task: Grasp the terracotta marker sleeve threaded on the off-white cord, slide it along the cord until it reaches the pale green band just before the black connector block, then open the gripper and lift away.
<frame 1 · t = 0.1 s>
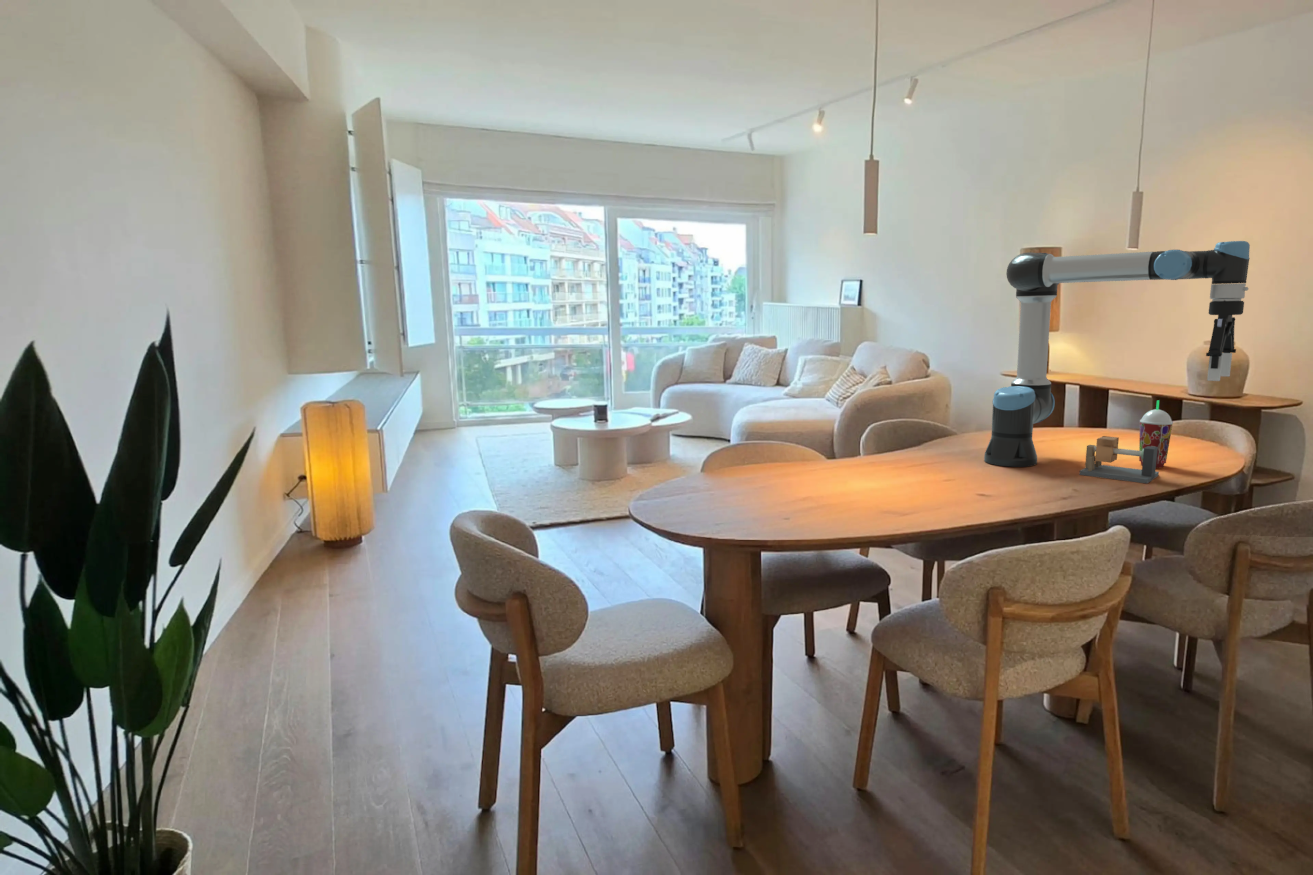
hand: (1218, 378, 206), 28 cm above the table, fingers open, 13 cm apart
smoothie: (1152, 466, 227), on the table
peg stand base: (1118, 475, 217), on the table
sleeve: (1106, 449, 218), point 7 cm above the table, slide at 0.0 cm
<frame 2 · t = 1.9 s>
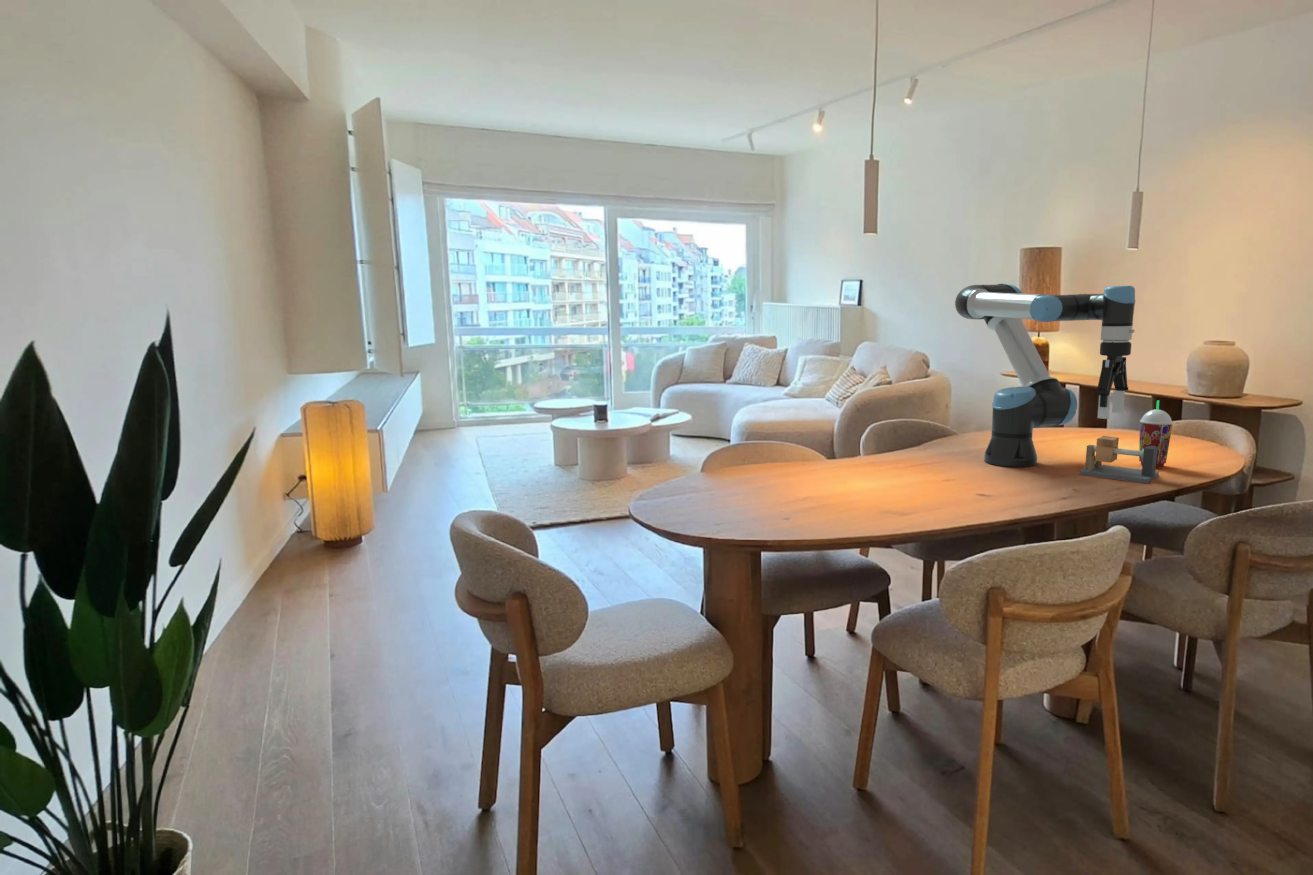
hand: (1110, 415, 216), 17 cm above the table, fingers open, 13 cm apart
nothing on the table moved.
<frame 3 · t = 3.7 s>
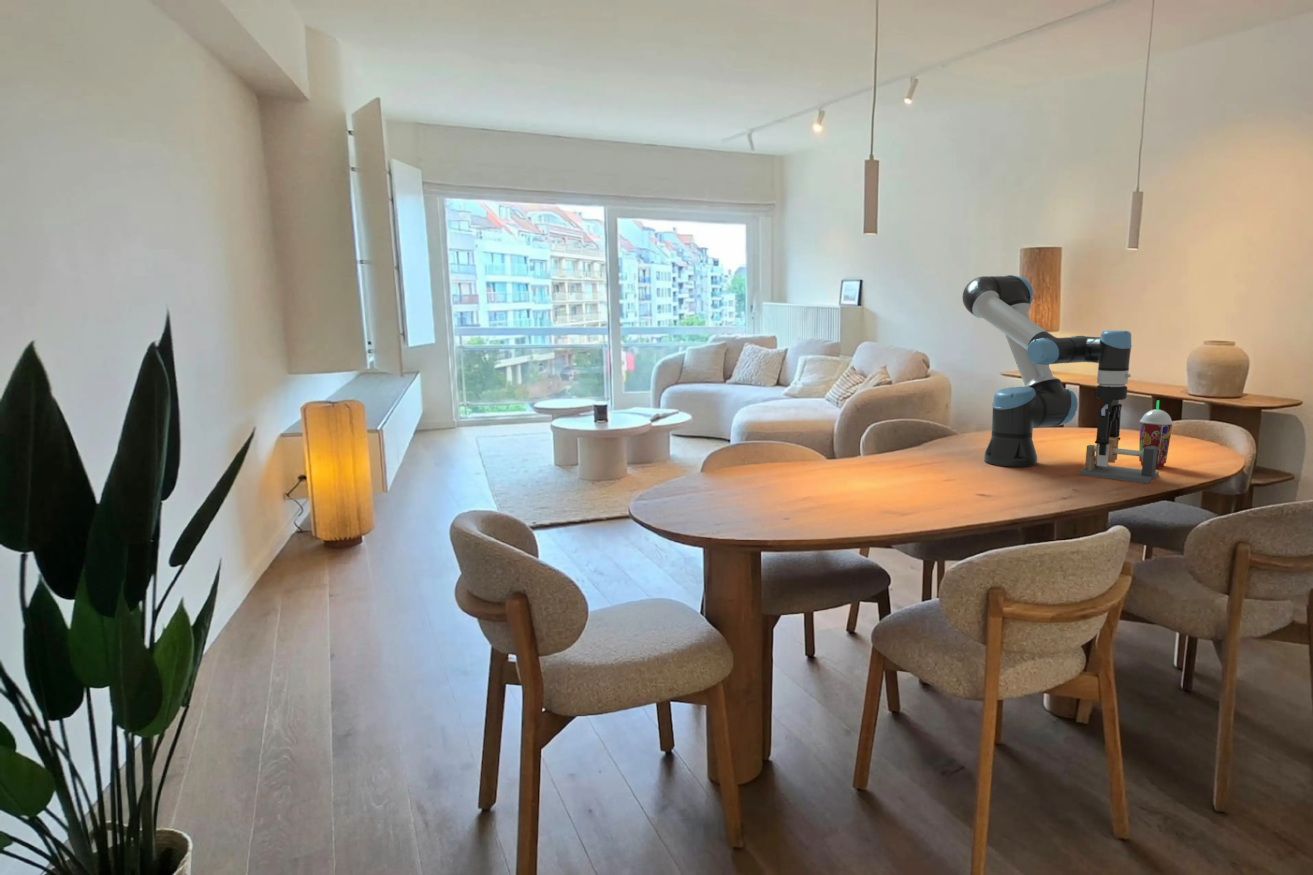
hand: (1105, 463, 219), 3 cm above the table, fingers closed on sleeve, 6 cm apart
sleeve: (1106, 449, 218), point 7 cm above the table, slide at 0.0 cm, touching gripper
everything else where it was.
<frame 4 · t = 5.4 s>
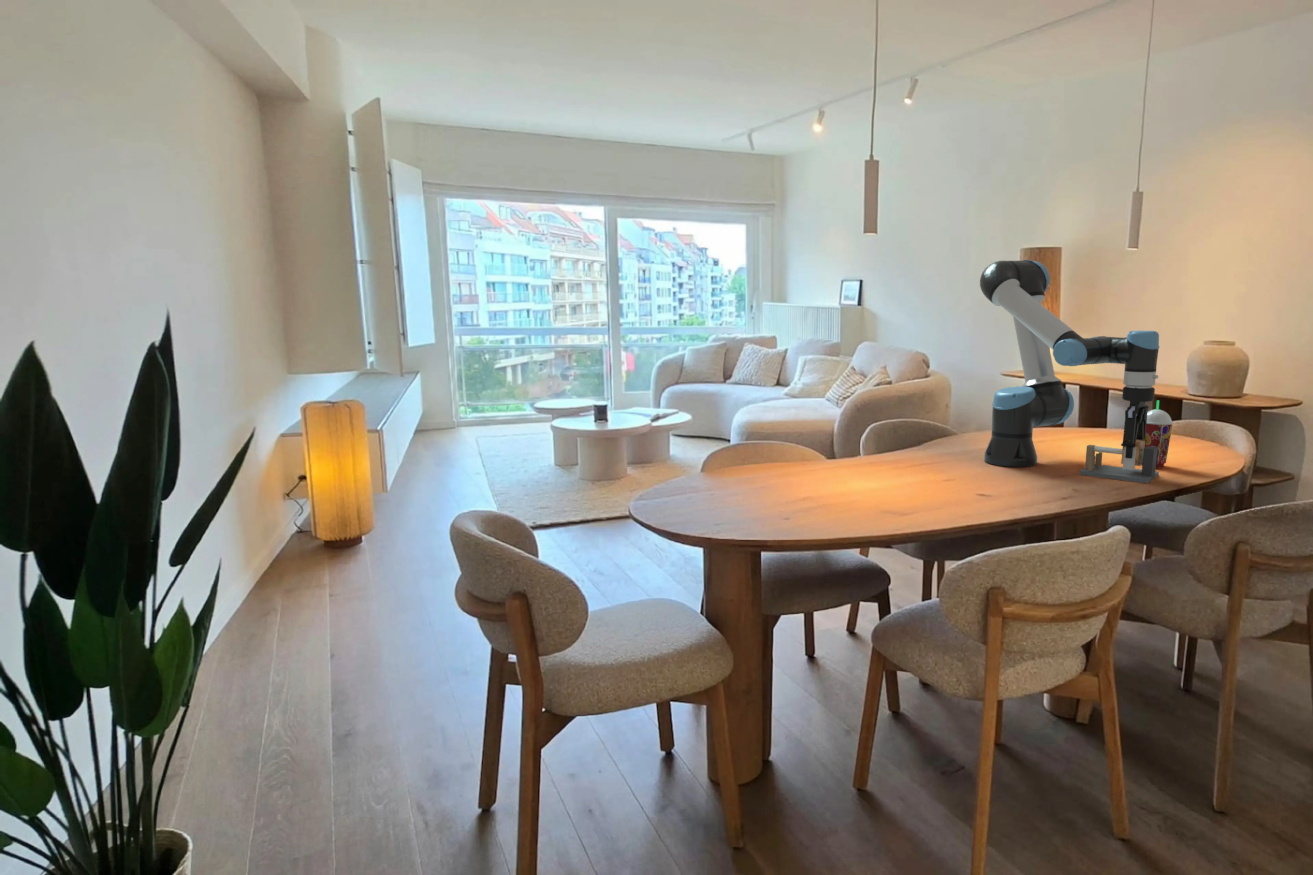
hand: (1131, 466, 214), 3 cm above the table, fingers closed on sleeve, 6 cm apart
sleeve: (1133, 451, 213), point 7 cm above the table, slide at 6.6 cm, touching gripper
everything else where it was.
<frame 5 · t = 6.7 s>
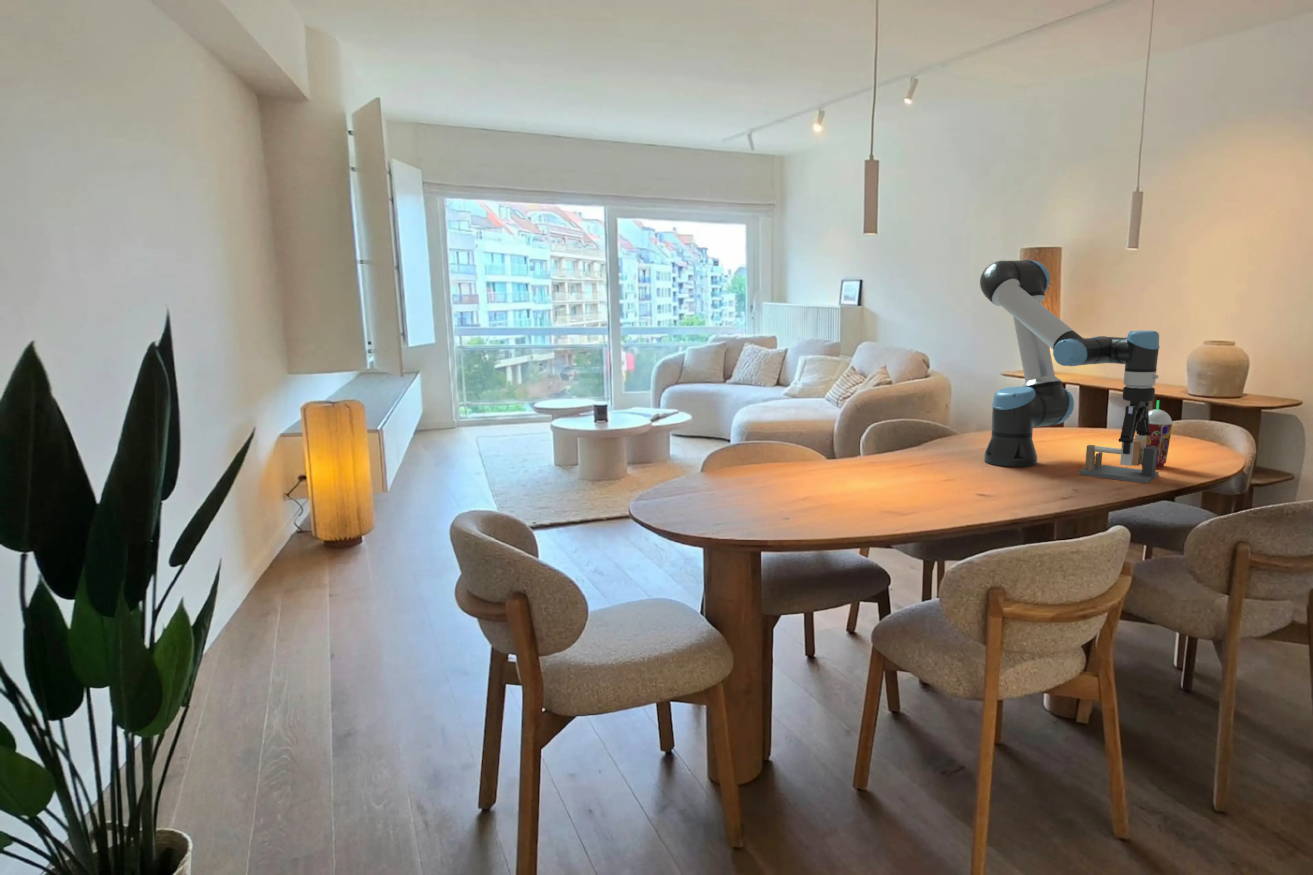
hand: (1132, 461, 214), 5 cm above the table, fingers open, 12 cm apart
sleeve: (1133, 452, 213), point 7 cm above the table, slide at 6.7 cm
everything else where it was.
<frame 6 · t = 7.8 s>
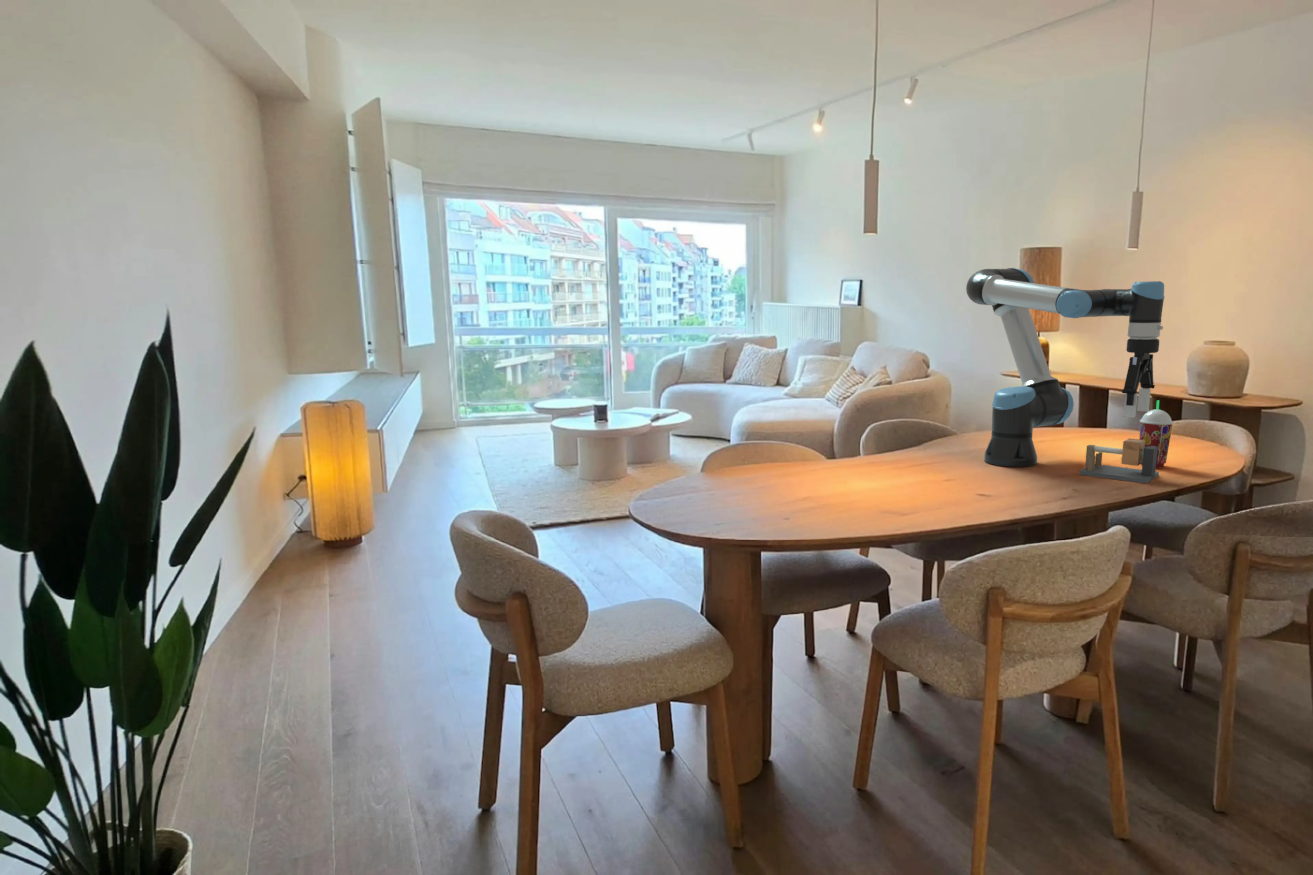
hand: (1136, 414, 211), 18 cm above the table, fingers open, 13 cm apart
nothing on the table moved.
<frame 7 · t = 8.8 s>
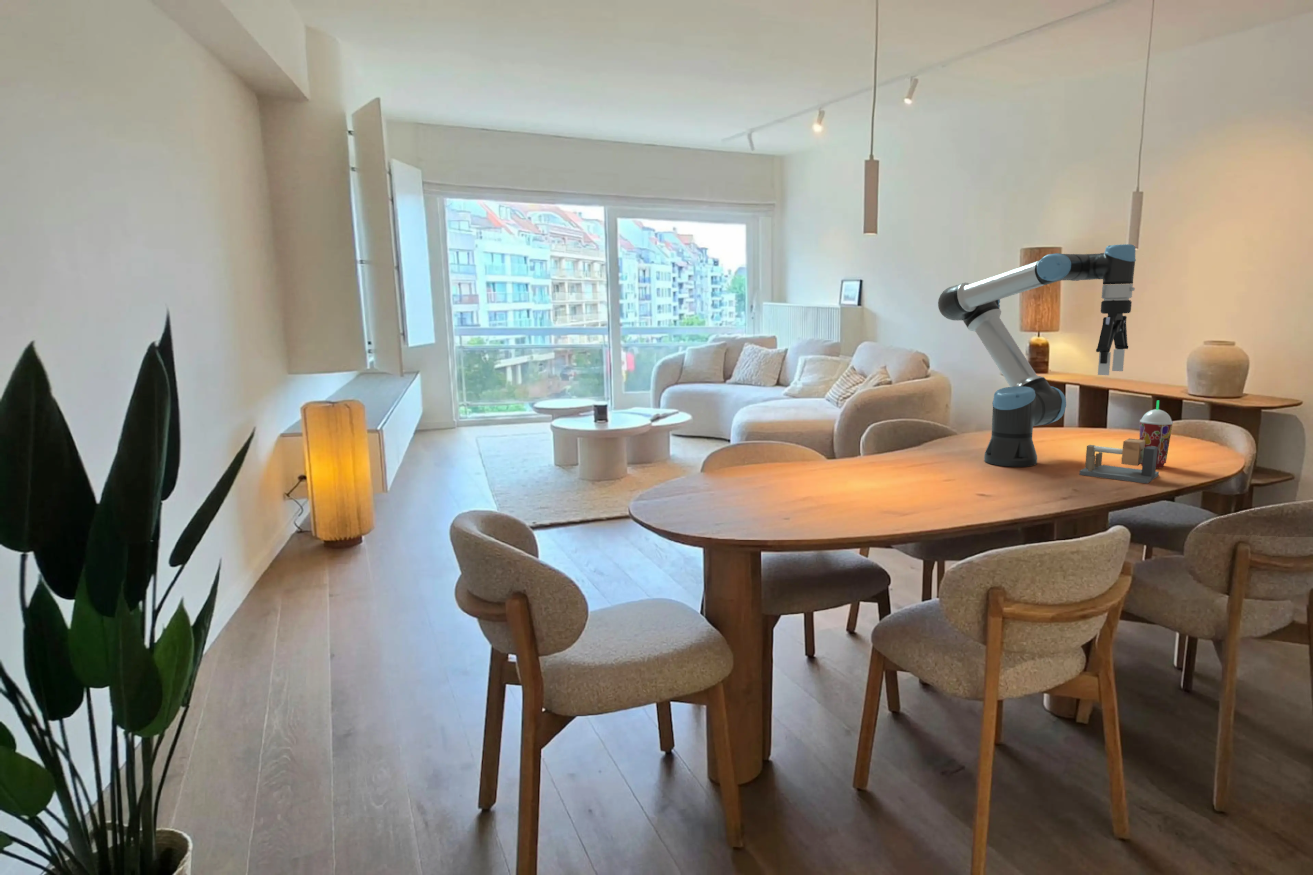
hand: (1110, 373, 220), 29 cm above the table, fingers open, 13 cm apart
nothing on the table moved.
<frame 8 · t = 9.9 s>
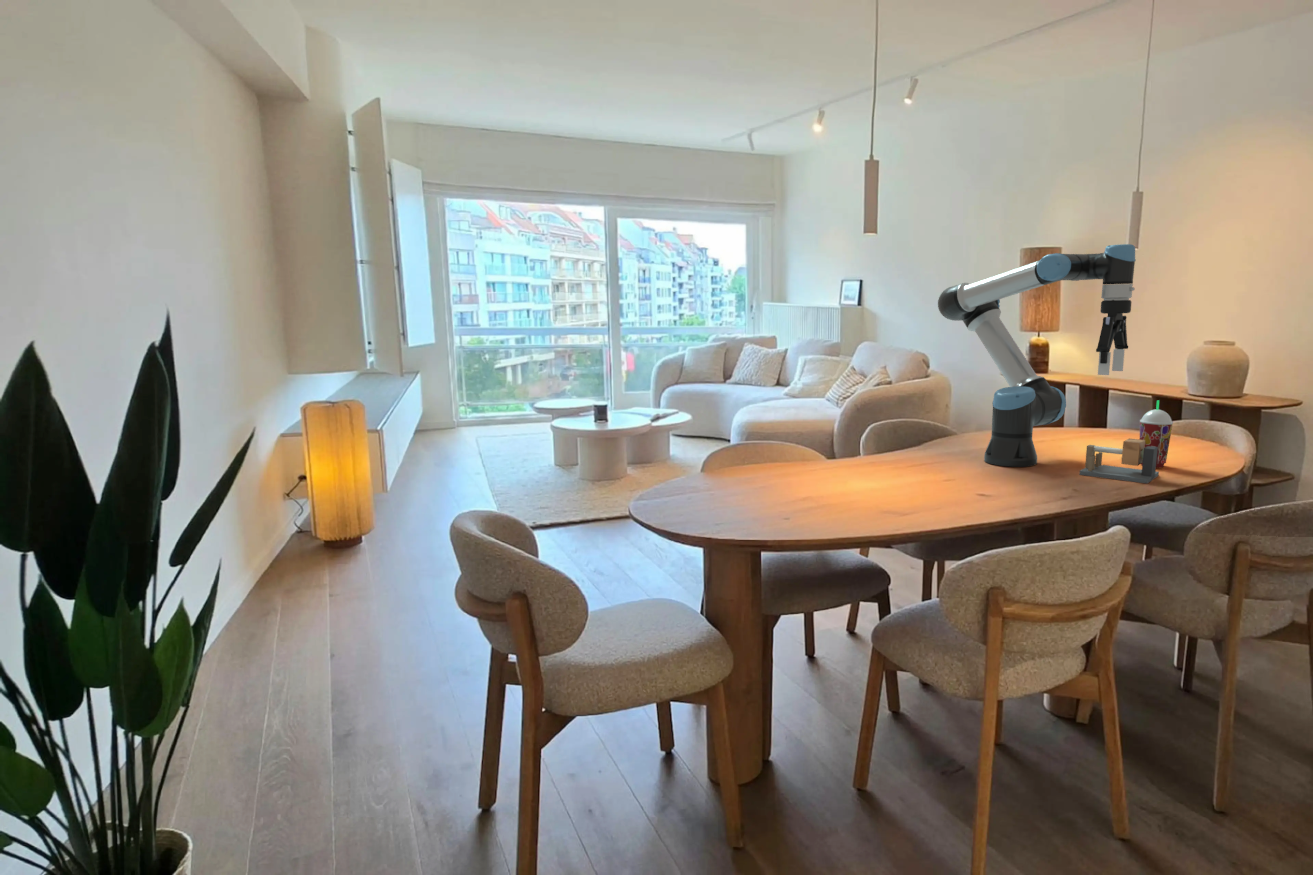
hand: (1110, 373, 221), 29 cm above the table, fingers open, 13 cm apart
nothing on the table moved.
at the end: sleeve slide at 6.7 cm; the gripper is holding nothing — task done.
